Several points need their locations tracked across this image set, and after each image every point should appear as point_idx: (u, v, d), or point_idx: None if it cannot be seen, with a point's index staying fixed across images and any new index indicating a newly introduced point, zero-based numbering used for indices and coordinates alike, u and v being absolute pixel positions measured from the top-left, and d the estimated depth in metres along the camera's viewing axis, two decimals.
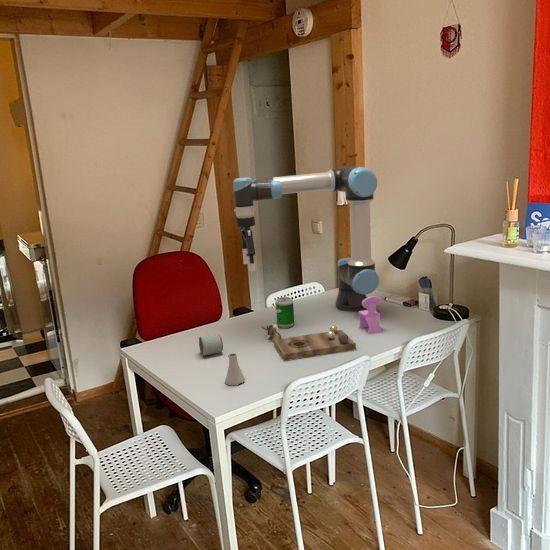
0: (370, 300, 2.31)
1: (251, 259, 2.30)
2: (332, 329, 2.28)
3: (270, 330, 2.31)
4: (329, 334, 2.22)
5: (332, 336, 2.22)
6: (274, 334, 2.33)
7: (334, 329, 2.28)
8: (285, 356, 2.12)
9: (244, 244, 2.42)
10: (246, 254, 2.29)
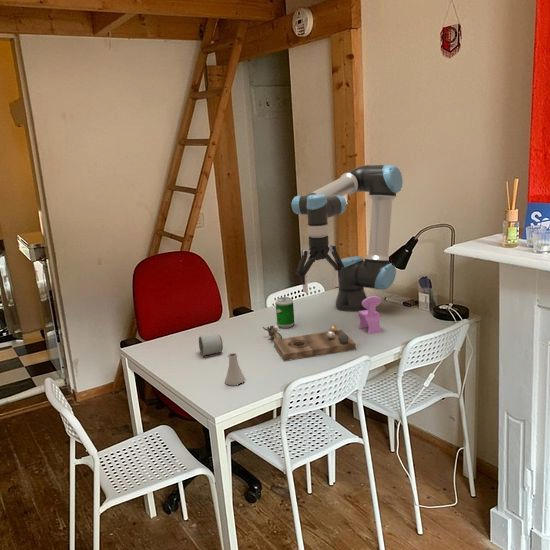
0: (370, 300, 2.31)
1: (301, 279, 2.21)
2: (332, 329, 2.28)
3: (271, 331, 2.30)
4: (329, 334, 2.22)
5: (332, 336, 2.22)
6: (275, 335, 2.33)
7: (334, 329, 2.28)
8: (285, 356, 2.12)
9: (332, 265, 2.26)
10: None
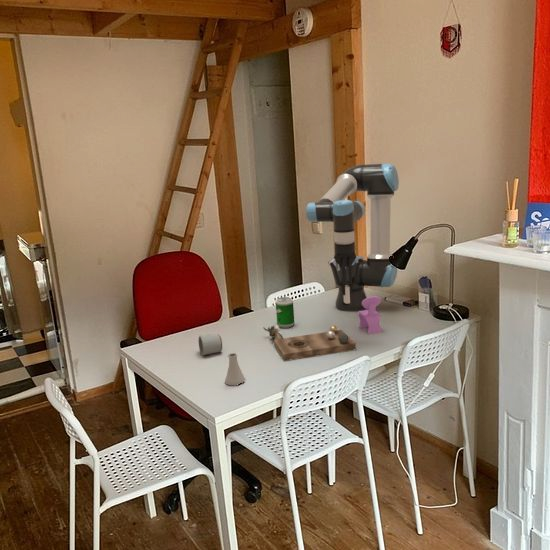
0: (370, 300, 2.31)
1: (341, 290, 2.20)
2: (332, 329, 2.28)
3: (272, 331, 2.30)
4: (329, 334, 2.22)
5: (332, 336, 2.22)
6: (276, 335, 2.32)
7: (334, 329, 2.28)
8: (285, 356, 2.12)
9: (347, 277, 2.19)
10: None
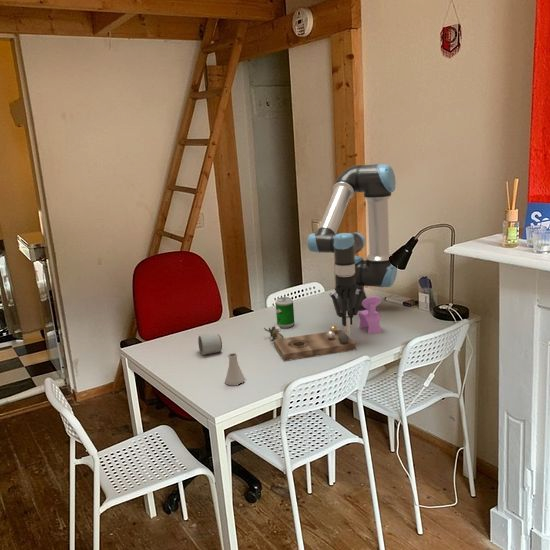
0: (370, 300, 2.31)
1: (342, 321, 2.23)
2: (332, 329, 2.28)
3: (273, 332, 2.29)
4: (329, 334, 2.22)
5: (332, 336, 2.22)
6: (277, 336, 2.31)
7: (334, 329, 2.28)
8: (285, 356, 2.12)
9: (347, 308, 2.23)
10: None
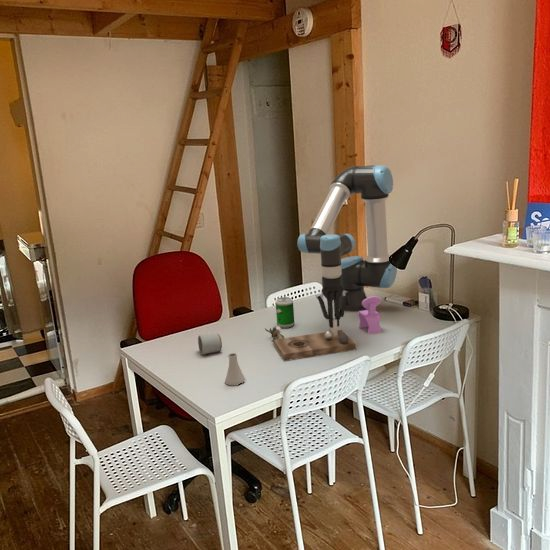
0: (370, 300, 2.31)
1: (329, 322, 2.22)
2: None
3: (274, 332, 2.28)
4: (326, 336, 2.22)
5: (330, 336, 2.21)
6: (278, 336, 2.31)
7: None
8: (285, 356, 2.12)
9: (334, 310, 2.21)
10: None
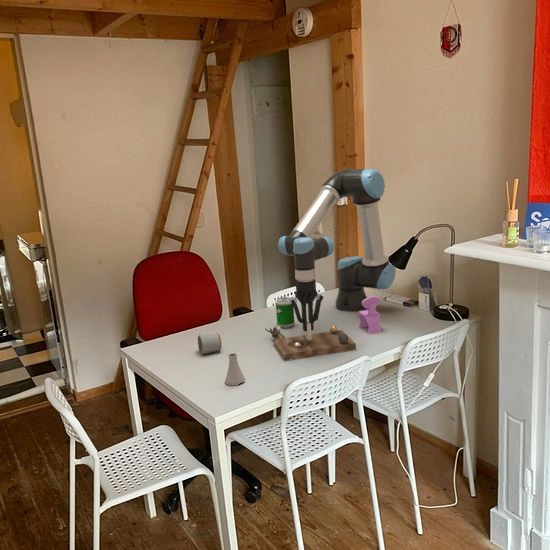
0: (370, 300, 2.31)
1: (303, 326, 2.20)
2: (332, 329, 2.28)
3: (274, 332, 2.28)
4: None
5: None
6: (278, 336, 2.31)
7: (334, 329, 2.28)
8: (285, 356, 2.12)
9: (308, 314, 2.19)
10: None
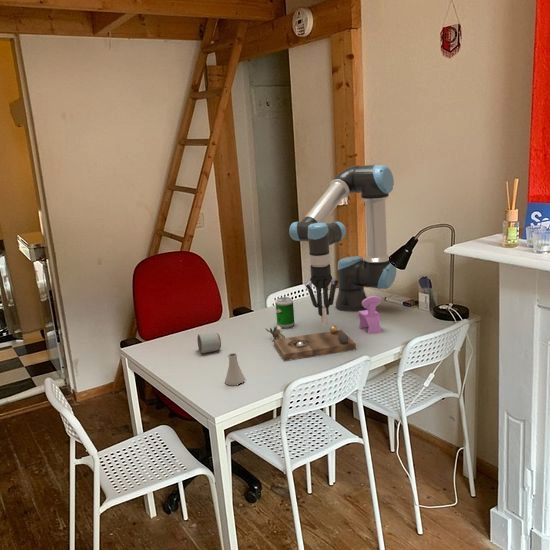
0: (370, 300, 2.31)
1: (318, 311, 2.22)
2: (332, 329, 2.28)
3: (275, 332, 2.28)
4: None
5: None
6: (279, 336, 2.31)
7: (334, 329, 2.28)
8: (285, 356, 2.12)
9: (324, 298, 2.21)
10: None
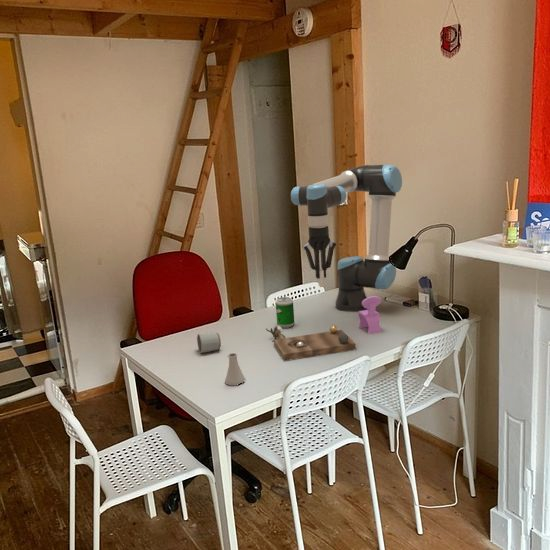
0: (370, 300, 2.31)
1: (316, 273, 2.22)
2: (332, 329, 2.28)
3: (275, 332, 2.28)
4: None
5: None
6: (279, 336, 2.31)
7: (334, 329, 2.28)
8: (285, 356, 2.12)
9: (321, 261, 2.22)
10: None
